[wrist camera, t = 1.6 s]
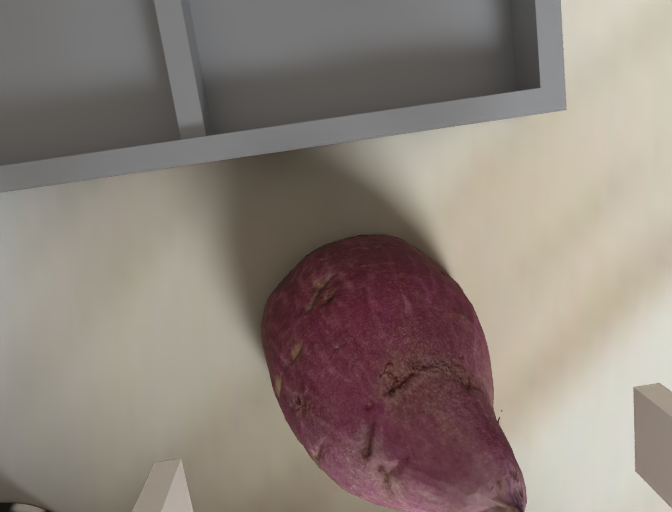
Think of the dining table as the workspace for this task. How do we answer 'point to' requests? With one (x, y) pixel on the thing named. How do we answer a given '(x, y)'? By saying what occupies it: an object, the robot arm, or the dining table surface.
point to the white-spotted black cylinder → (19, 508)
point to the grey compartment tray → (256, 77)
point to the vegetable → (390, 379)
